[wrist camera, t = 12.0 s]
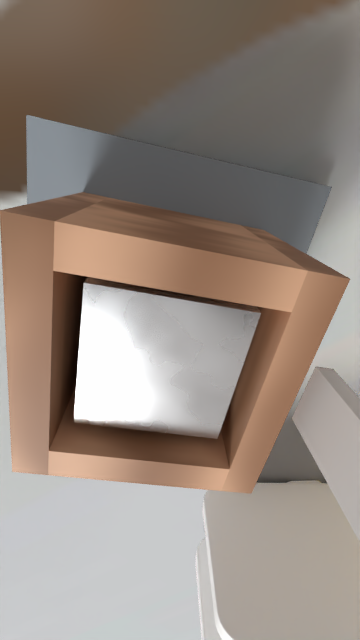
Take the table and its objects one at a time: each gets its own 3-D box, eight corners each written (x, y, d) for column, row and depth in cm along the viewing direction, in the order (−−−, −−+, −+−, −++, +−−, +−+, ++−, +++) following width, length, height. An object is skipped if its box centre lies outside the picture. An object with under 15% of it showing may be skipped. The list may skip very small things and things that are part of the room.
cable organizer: (352, 476, 30) (455, 640, 19) (323, 539, 34) (392, 700, 24) (201, 474, 29) (222, 648, 18) (191, 540, 33) (203, 709, 23)
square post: (106, 331, 20) (73, 422, 13) (117, 237, 17) (83, 282, 10) (198, 346, 21) (217, 438, 13) (222, 257, 18) (260, 313, 11)
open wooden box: (72, 353, 20) (12, 471, 12) (82, 192, 16) (-1, 210, 8) (219, 374, 22) (251, 493, 14) (263, 229, 17) (350, 278, 9)
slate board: (37, 369, 23) (29, 381, 21) (38, 119, 16) (26, 114, 15) (242, 396, 25) (246, 409, 23) (319, 185, 18) (331, 186, 17)
